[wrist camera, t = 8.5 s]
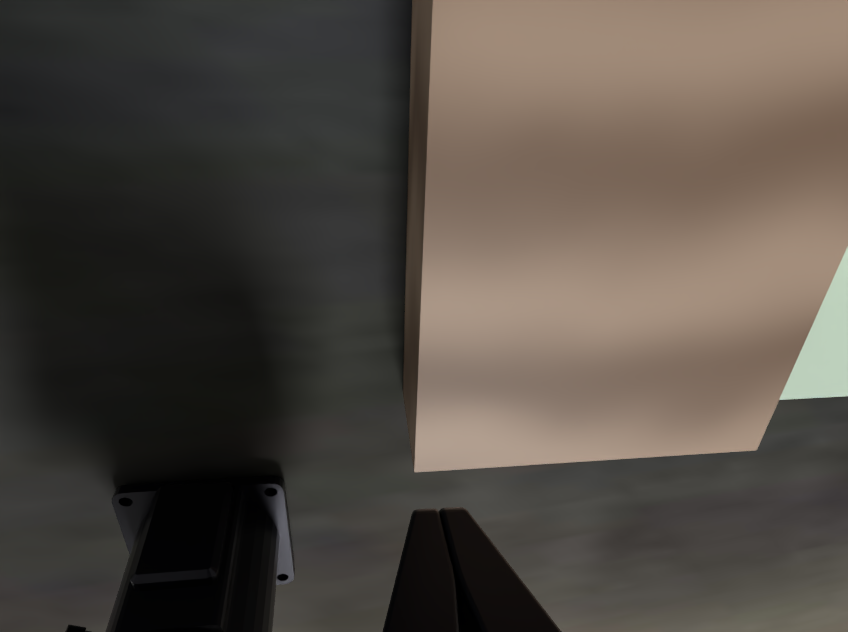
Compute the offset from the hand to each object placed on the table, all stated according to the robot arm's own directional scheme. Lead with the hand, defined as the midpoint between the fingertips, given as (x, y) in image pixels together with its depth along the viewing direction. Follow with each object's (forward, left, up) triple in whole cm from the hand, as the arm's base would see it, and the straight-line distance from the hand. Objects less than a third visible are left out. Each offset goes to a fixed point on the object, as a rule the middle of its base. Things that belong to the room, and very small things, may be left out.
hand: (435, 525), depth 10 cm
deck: (+3, -7, -12) cm, 14 cm away
